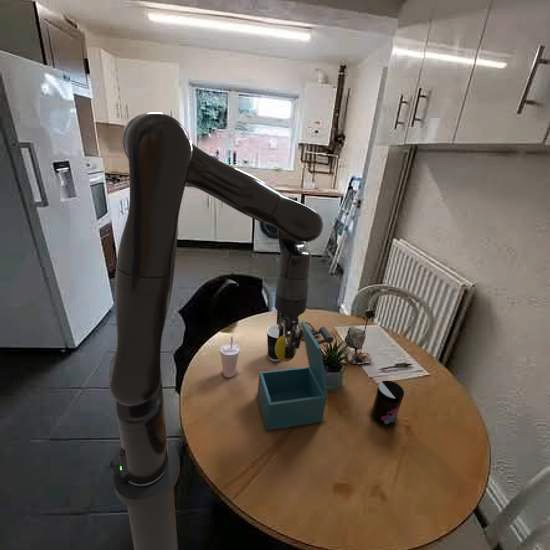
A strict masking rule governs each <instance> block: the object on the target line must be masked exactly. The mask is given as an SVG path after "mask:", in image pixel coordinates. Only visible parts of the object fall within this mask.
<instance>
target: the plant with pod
mask: <svg viewBox="0 0 550 550" xmlns="http://www.w3.org/2000/svg"><path fill="white" fill-rule="evenodd" d="M364 314H365V318H366V321H365V325H364V330H363V329H361V328H358V327H355V326H351V324H349V326H350V327H348V329H347V332H346V336H345V337H344V343H345V346H344V347H343V348H342V349H341V351H342V350H343V352H344V351H345V350H346V349H347V348H350V349H354V350H352V351H347V352H346V359H347V360H348V361H347V362H348V363H351V364H354V365H356V364H357V365H361V364H367V363H368V364H371V363H372V358H371V356H370V354H369V353H368V352H365V351H363V350H362V349H363V347H364V344H365V341H366V338H367V337H366V336H367V335H366V330H367V326H368V325H367V324H368V323H369V322H368V321H369V320H370V319H372V318H373V319H374V320H376V317H375V316H376V313H375V310H374V308H369V309H366V310H365V311H364Z"/></svg>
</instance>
